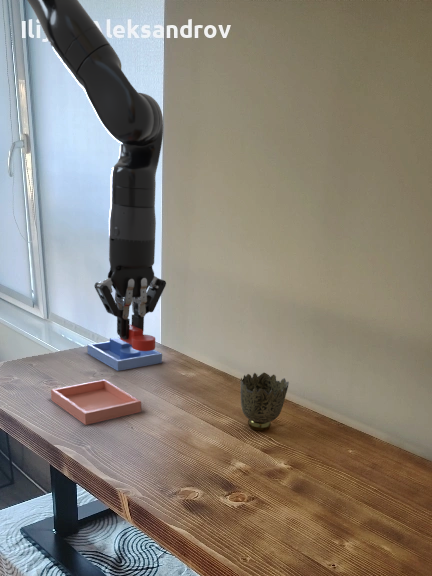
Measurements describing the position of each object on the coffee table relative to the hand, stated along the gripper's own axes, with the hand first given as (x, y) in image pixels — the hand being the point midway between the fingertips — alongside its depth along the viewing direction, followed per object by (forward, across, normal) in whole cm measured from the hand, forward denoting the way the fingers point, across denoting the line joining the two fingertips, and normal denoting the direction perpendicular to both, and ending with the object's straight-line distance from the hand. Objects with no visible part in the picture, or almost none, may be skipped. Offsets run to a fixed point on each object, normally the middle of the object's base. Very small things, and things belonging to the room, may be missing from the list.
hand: (130, 337), depth 111 cm
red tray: (+8, +12, +8) cm, 16 cm away
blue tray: (+8, -5, -10) cm, 13 cm away
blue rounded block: (+7, -5, -10) cm, 13 cm away
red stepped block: (+1, 0, +2) cm, 2 cm away
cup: (+8, -6, +28) cm, 30 cm away
